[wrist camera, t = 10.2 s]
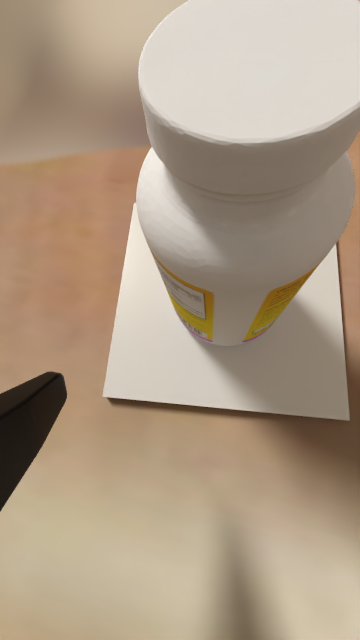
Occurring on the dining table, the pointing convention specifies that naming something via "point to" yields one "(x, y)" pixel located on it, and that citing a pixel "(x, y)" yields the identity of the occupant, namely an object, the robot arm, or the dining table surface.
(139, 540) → the dining table surface
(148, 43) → the supplement bottle
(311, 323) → the white mat
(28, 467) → the robot arm
